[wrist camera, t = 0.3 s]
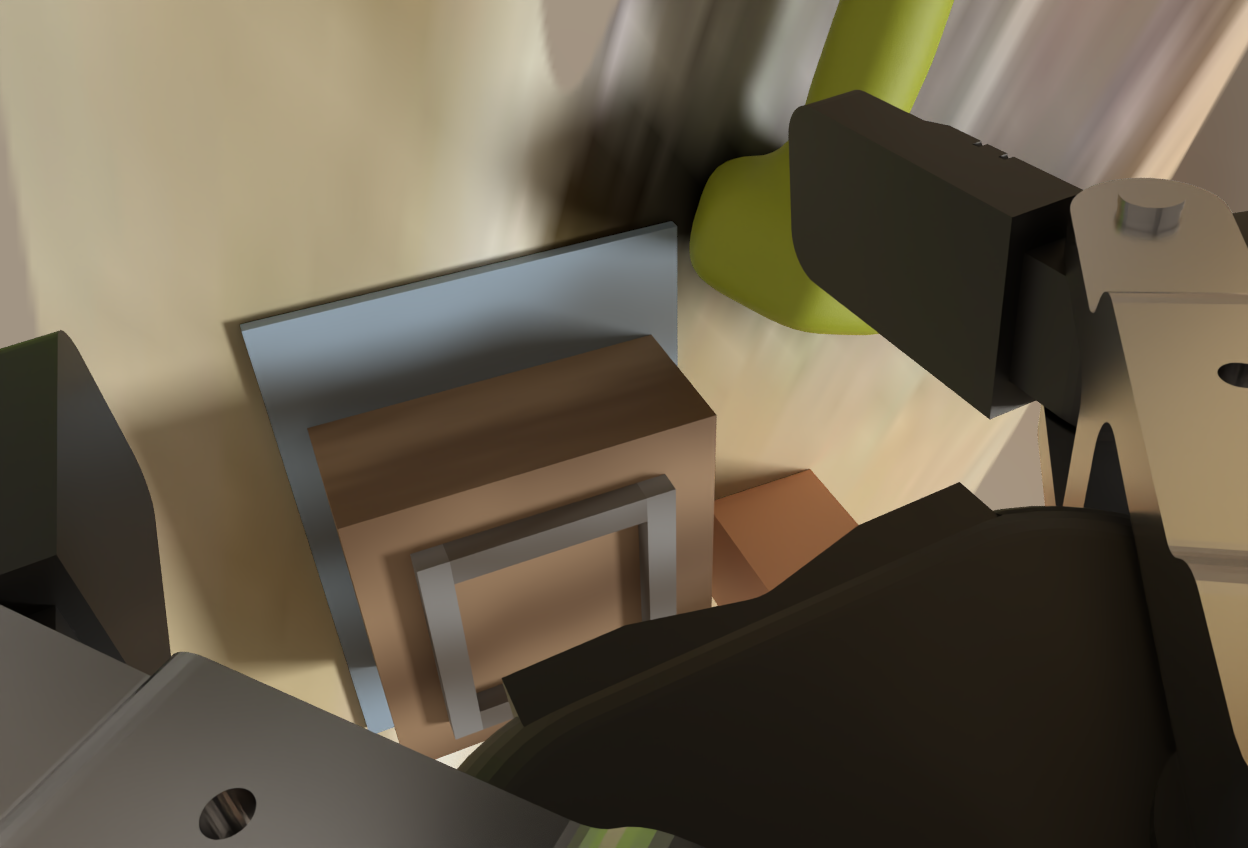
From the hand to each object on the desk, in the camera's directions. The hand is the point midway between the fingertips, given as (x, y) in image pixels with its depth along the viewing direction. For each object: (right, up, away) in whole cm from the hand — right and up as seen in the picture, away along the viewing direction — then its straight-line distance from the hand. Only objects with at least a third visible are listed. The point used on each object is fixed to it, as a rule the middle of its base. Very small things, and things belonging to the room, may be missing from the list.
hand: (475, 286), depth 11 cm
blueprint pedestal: (-3, -4, +28) cm, 28 cm away
